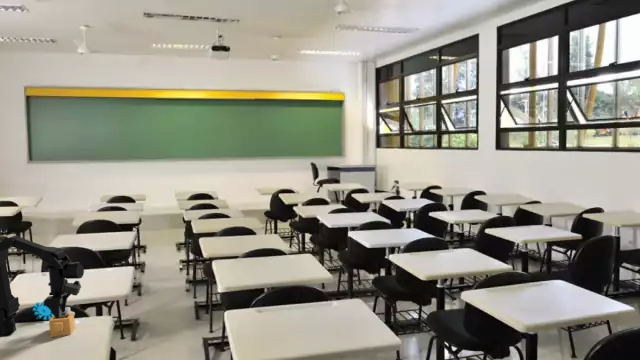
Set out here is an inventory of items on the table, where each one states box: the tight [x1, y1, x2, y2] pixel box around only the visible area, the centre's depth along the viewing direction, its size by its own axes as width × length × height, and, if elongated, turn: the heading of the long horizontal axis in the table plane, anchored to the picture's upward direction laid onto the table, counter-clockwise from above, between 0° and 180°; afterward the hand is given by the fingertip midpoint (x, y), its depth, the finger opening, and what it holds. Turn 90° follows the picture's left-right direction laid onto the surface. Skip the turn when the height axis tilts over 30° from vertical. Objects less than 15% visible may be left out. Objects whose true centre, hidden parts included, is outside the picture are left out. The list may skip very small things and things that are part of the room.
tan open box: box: [48, 306, 76, 338], centre depth 211 cm, size 8×14×8 cm, turn 11°
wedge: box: [55, 313, 68, 319], centre depth 209 cm, size 4×2×8 cm, turn 101°
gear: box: [32, 301, 54, 321], centre depth 226 cm, size 11×6×10 cm
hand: (60, 314), depth 208 cm, fingers open, 7 cm apart
